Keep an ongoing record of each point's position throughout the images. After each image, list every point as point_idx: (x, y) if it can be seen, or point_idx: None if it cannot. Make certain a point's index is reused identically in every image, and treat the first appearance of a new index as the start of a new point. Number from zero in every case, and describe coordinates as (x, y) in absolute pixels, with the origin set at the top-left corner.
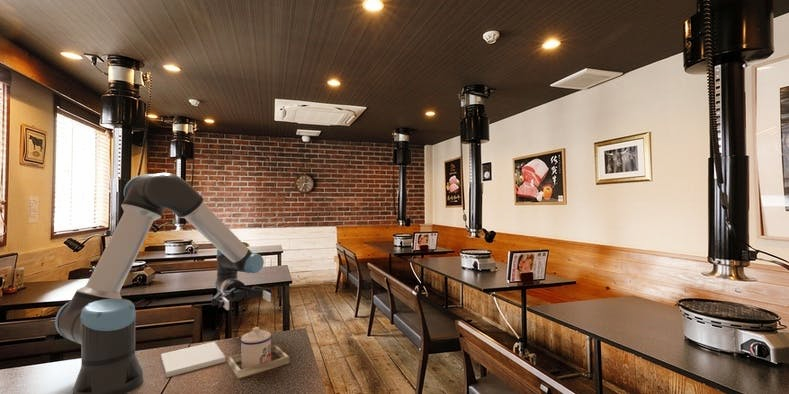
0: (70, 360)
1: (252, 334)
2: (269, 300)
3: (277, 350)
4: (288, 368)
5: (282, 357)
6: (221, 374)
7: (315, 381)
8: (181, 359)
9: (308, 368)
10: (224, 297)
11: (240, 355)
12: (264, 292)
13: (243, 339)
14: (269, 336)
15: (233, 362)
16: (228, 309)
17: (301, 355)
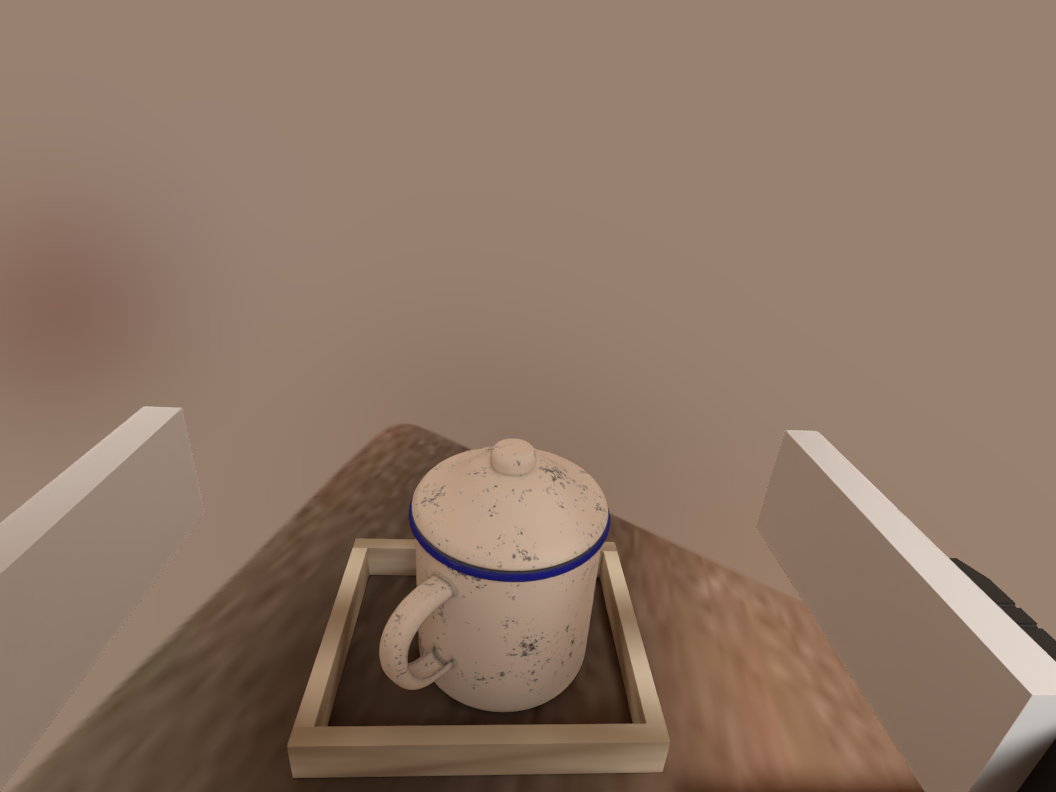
0: None
1: (543, 458)
2: (190, 495)
3: (334, 669)
4: (392, 532)
5: (356, 606)
6: (692, 647)
7: (380, 434)
8: None
9: (332, 494)
10: (1011, 663)
11: (582, 726)
12: (16, 580)
13: (596, 483)
14: (446, 459)
15: (634, 639)
16: (767, 522)
17: (246, 604)
